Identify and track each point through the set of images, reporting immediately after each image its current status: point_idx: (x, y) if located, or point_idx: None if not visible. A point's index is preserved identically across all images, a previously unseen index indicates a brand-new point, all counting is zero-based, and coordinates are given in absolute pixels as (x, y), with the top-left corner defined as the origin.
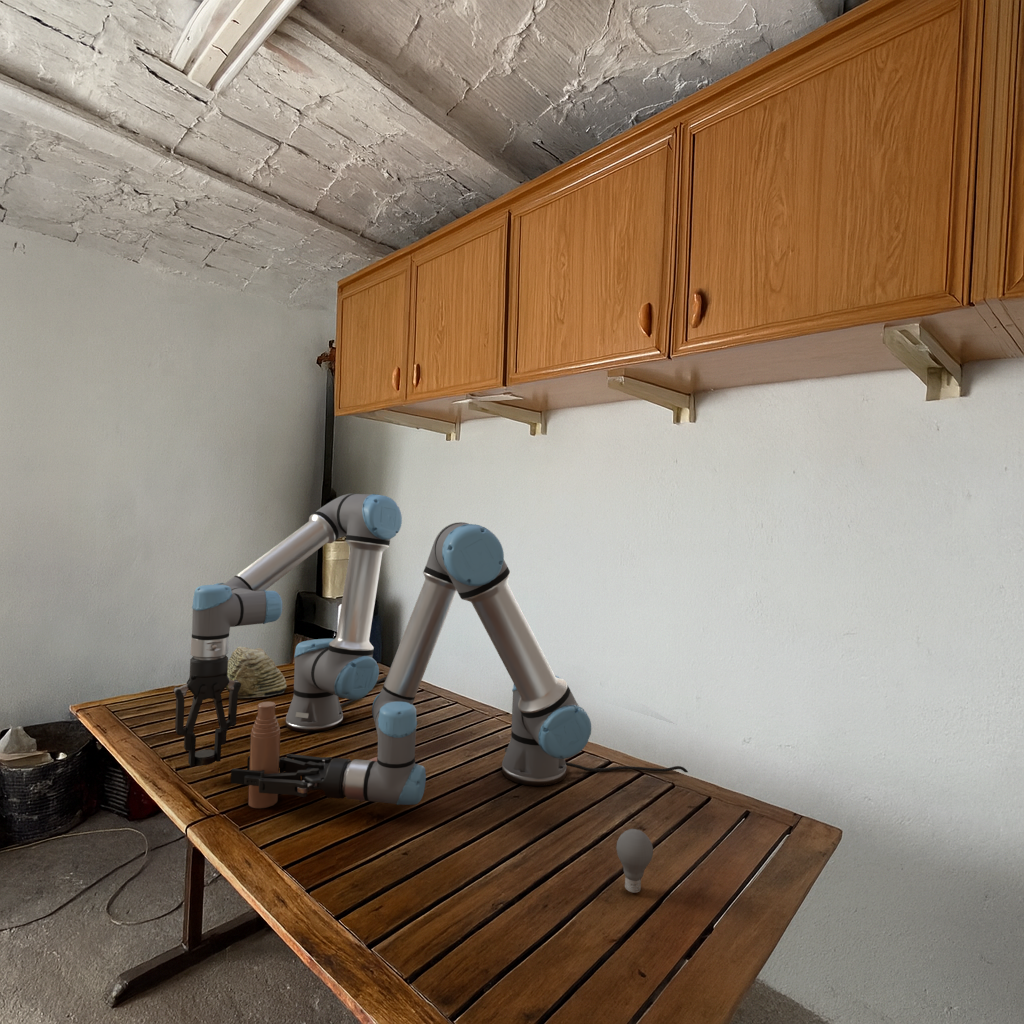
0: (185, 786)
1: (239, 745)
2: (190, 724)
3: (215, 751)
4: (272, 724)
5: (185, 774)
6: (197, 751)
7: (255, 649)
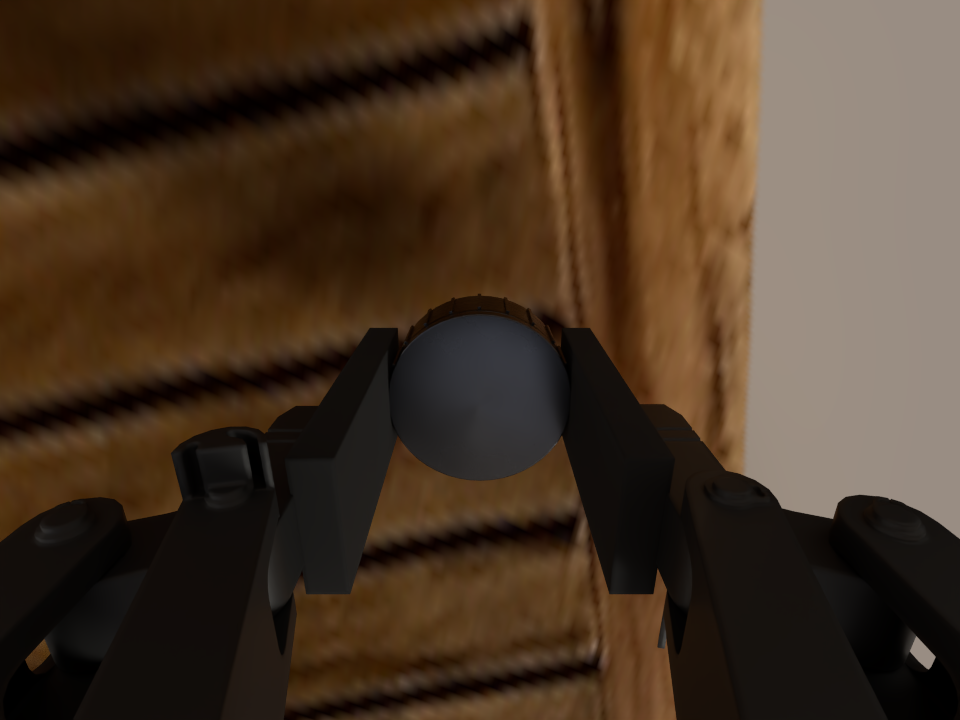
0: (590, 290)
1: None
2: (807, 608)
3: (391, 402)
4: None
5: None
6: (523, 467)
7: None
